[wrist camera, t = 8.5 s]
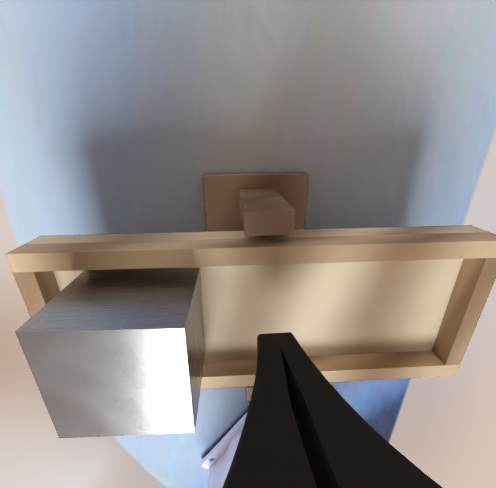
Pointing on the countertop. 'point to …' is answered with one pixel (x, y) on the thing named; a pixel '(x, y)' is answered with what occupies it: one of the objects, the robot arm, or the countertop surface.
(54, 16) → the countertop surface
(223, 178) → the stand
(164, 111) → the countertop surface
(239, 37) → the countertop surface
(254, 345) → the beam
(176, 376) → the block
